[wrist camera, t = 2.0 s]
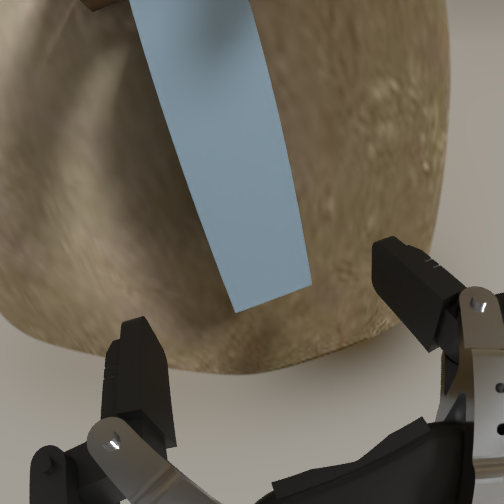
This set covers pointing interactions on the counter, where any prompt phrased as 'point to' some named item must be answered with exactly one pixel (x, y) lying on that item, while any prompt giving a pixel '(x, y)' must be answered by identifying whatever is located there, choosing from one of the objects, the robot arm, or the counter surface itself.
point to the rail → (228, 141)
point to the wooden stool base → (98, 3)
